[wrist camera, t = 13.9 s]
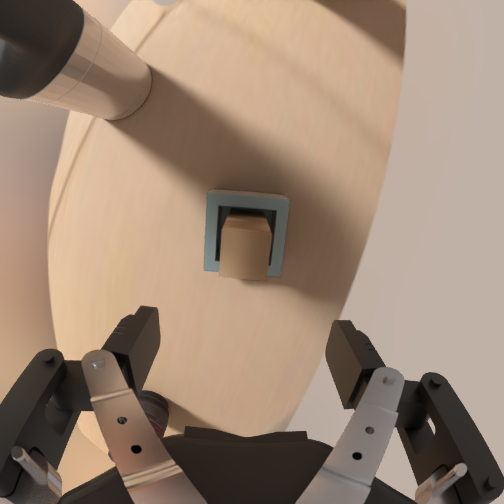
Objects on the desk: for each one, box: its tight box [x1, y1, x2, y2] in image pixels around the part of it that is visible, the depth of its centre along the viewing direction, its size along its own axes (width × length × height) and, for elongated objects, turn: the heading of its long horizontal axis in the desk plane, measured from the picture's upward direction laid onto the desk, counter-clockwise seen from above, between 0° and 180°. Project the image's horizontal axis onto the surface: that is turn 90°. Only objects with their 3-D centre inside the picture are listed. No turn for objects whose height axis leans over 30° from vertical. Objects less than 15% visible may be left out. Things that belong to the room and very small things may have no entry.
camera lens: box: [108, 390, 169, 462], centre depth 36 cm, size 8×8×15 cm
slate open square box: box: [204, 189, 290, 277], centre depth 31 cm, size 8×8×6 cm
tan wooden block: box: [219, 210, 272, 281], centre depth 28 cm, size 4×4×11 cm
